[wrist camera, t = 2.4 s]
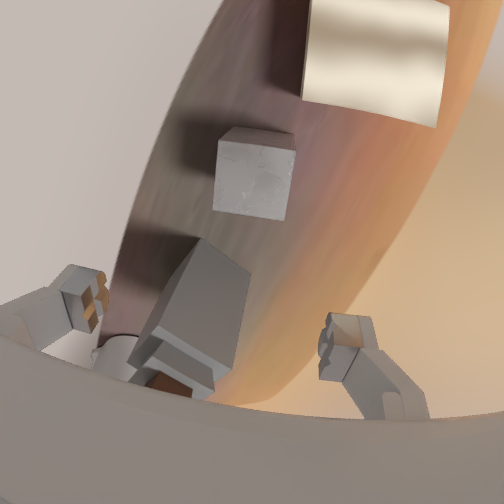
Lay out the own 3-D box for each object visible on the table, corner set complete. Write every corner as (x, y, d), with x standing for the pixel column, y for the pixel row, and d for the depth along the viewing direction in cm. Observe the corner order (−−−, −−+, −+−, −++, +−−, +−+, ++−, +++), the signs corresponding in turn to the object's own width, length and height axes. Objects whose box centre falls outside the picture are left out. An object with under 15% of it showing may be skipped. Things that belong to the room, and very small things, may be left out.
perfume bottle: (200, 238, 34) (136, 370, 19) (250, 273, 36) (222, 417, 20) (170, 276, 37) (107, 402, 22) (216, 307, 39) (178, 439, 24)
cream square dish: (414, 119, 26) (435, 128, 21) (299, 96, 26) (302, 100, 22) (426, 14, 20) (449, 6, 16) (310, -14, 21) (314, -30, 16)
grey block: (285, 190, 31) (283, 220, 25) (228, 181, 31) (212, 210, 25) (294, 134, 28) (296, 151, 22) (234, 126, 28) (218, 140, 22)
